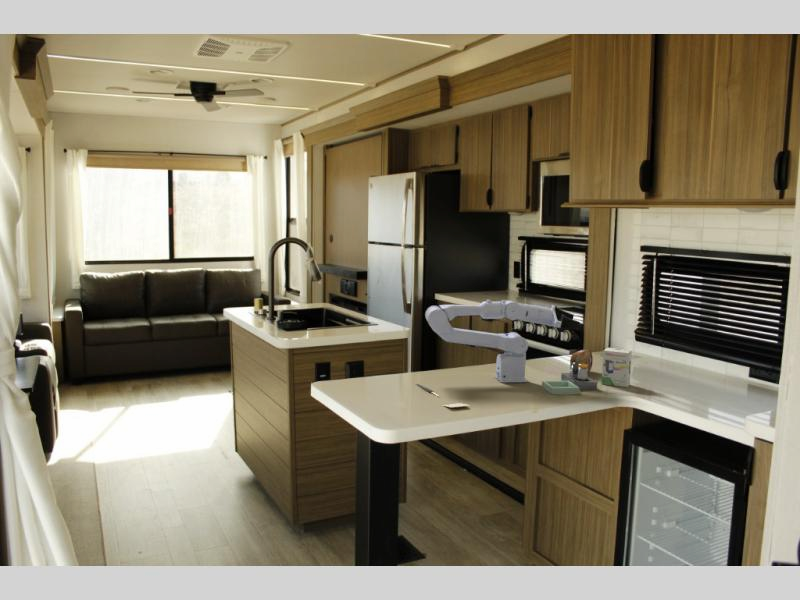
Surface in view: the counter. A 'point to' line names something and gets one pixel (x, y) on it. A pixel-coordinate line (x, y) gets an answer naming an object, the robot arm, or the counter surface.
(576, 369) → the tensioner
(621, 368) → the ink box
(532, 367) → the counter surface
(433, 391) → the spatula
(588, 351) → the tin
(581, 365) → the pin
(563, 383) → the tray
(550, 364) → the counter surface
